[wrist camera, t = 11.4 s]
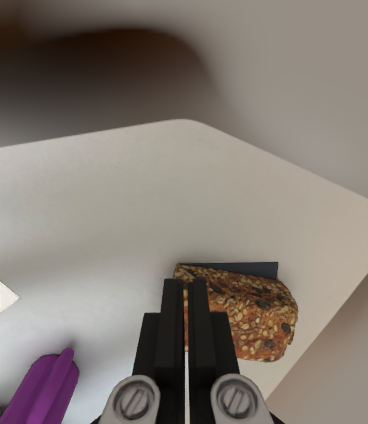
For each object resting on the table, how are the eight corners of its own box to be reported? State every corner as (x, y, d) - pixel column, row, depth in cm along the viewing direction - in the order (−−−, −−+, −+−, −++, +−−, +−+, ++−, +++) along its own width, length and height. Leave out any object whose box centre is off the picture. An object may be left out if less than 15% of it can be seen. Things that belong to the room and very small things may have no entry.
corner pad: (179, 263, 44) (179, 264, 43) (278, 262, 43) (278, 262, 43) (181, 321, 48) (181, 322, 48) (270, 320, 48) (271, 321, 48)
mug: (26, 376, 53) (-31, 472, 39) (54, 323, 48) (0, 410, 34) (70, 392, 55) (30, 490, 41) (101, 342, 50) (68, 433, 36)
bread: (163, 308, 47) (157, 358, 37) (175, 256, 43) (172, 297, 34) (265, 326, 48) (284, 378, 39) (285, 277, 44) (312, 321, 35)
